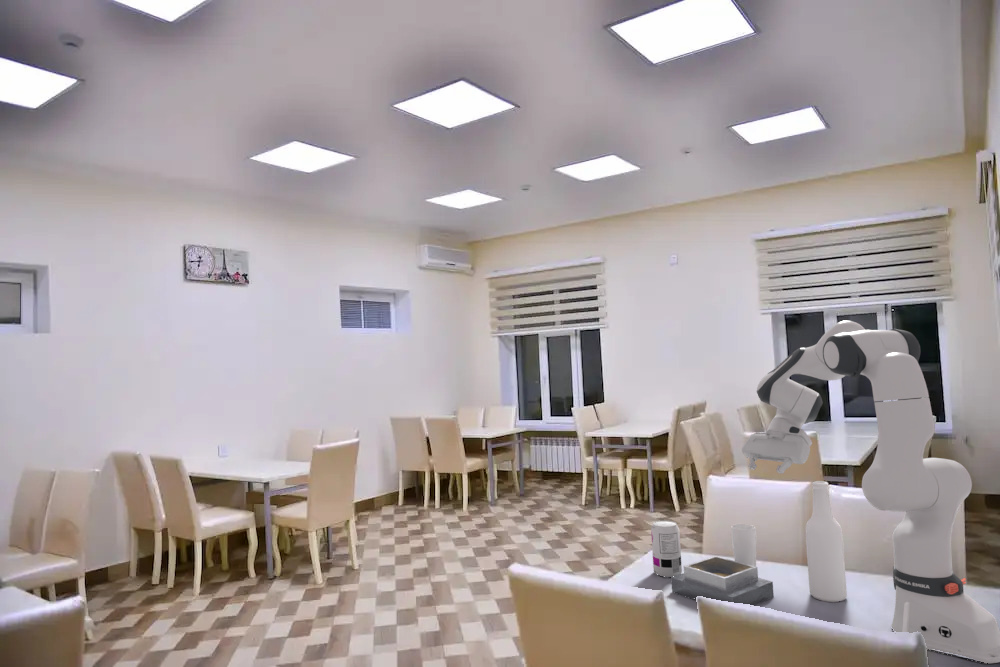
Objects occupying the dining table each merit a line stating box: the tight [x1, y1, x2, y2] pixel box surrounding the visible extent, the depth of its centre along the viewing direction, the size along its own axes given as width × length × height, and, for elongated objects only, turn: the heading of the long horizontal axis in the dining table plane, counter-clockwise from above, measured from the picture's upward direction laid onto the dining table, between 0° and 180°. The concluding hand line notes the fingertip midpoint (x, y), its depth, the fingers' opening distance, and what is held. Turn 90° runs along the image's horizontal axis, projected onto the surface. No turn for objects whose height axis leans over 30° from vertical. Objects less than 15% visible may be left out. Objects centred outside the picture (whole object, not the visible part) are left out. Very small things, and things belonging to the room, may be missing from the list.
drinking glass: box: [730, 523, 757, 567], centre depth 186 cm, size 7×7×15 cm
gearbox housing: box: [670, 555, 775, 606], centre depth 175 cm, size 20×17×8 cm
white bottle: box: [804, 480, 848, 603], centre depth 170 cm, size 9×9×30 cm
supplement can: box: [650, 520, 683, 578], centre depth 194 cm, size 8×8×15 cm
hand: (765, 470), depth 194 cm, fingers open, 8 cm apart
